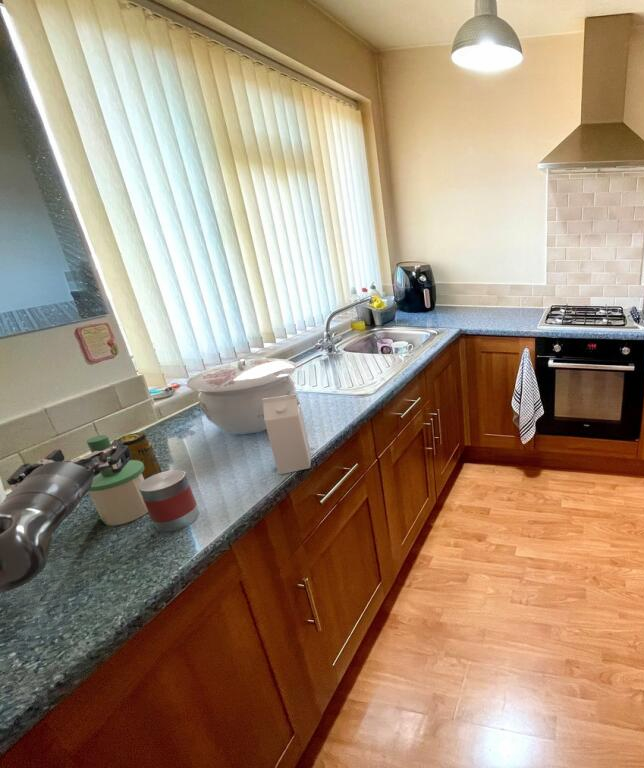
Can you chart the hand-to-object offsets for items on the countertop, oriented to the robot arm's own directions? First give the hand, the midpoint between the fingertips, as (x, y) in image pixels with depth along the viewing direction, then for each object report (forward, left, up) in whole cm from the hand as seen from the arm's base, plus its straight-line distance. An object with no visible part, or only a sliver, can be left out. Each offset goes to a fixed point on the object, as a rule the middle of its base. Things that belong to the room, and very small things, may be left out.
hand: (90, 448), depth 77 cm
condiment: (+1, +15, -18) cm, 23 cm away
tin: (+10, -5, -17) cm, 21 cm away
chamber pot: (+22, +38, -18) cm, 48 cm away
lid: (0, +3, -8) cm, 9 cm away
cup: (0, +3, -17) cm, 18 cm away
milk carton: (+32, +7, -18) cm, 37 cm away
